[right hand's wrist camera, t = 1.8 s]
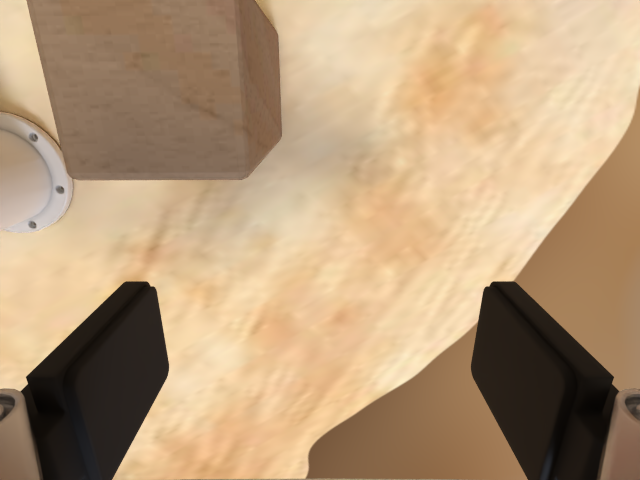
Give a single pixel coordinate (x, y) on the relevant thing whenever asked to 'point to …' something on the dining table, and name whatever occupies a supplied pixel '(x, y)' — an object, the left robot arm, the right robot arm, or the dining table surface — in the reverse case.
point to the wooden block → (160, 86)
